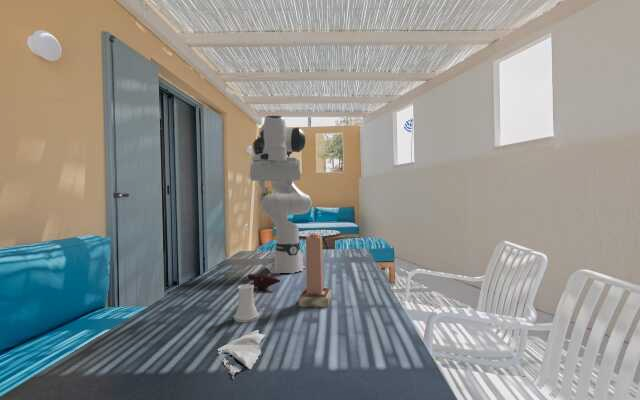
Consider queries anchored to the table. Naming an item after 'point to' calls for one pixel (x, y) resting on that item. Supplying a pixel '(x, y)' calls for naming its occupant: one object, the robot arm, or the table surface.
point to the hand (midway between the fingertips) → (276, 192)
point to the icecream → (262, 280)
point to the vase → (246, 305)
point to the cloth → (243, 350)
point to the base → (315, 298)
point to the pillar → (314, 264)
